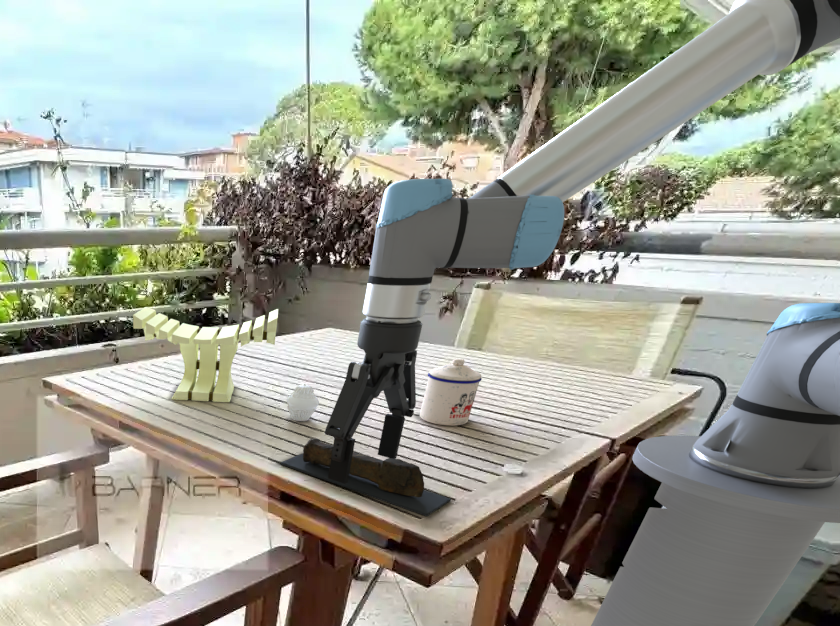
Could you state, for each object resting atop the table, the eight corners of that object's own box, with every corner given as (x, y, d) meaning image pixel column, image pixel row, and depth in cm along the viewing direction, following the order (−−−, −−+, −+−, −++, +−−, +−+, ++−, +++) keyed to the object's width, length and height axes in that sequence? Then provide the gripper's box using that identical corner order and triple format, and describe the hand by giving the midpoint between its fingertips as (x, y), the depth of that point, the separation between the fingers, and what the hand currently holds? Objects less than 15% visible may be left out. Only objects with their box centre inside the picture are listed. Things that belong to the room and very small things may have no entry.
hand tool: (298, 463, 88) (302, 436, 86) (314, 457, 90) (318, 431, 88) (409, 506, 75) (417, 475, 73) (424, 498, 77) (433, 467, 75)
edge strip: (450, 500, 77) (451, 498, 77) (426, 516, 73) (427, 513, 73) (306, 453, 93) (306, 451, 93) (280, 464, 89) (280, 462, 89)
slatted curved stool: (270, 385, 132) (278, 306, 123) (268, 404, 118) (277, 317, 110) (149, 379, 138) (148, 304, 129) (134, 397, 124) (133, 314, 116)
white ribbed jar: (281, 421, 108) (285, 386, 105) (288, 412, 113) (292, 378, 110) (313, 425, 106) (318, 389, 102) (318, 416, 111) (323, 381, 107)
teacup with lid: (454, 429, 102) (472, 367, 97) (408, 418, 109) (422, 358, 103) (484, 417, 109) (502, 357, 103) (439, 406, 115) (454, 350, 109)
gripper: (367, 334, 62) (338, 500, 72) (463, 310, 76) (427, 453, 86) (311, 326, 67) (291, 483, 77) (410, 306, 81) (383, 441, 91)
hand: (363, 468), depth 82 cm, fingers open, 13 cm apart
